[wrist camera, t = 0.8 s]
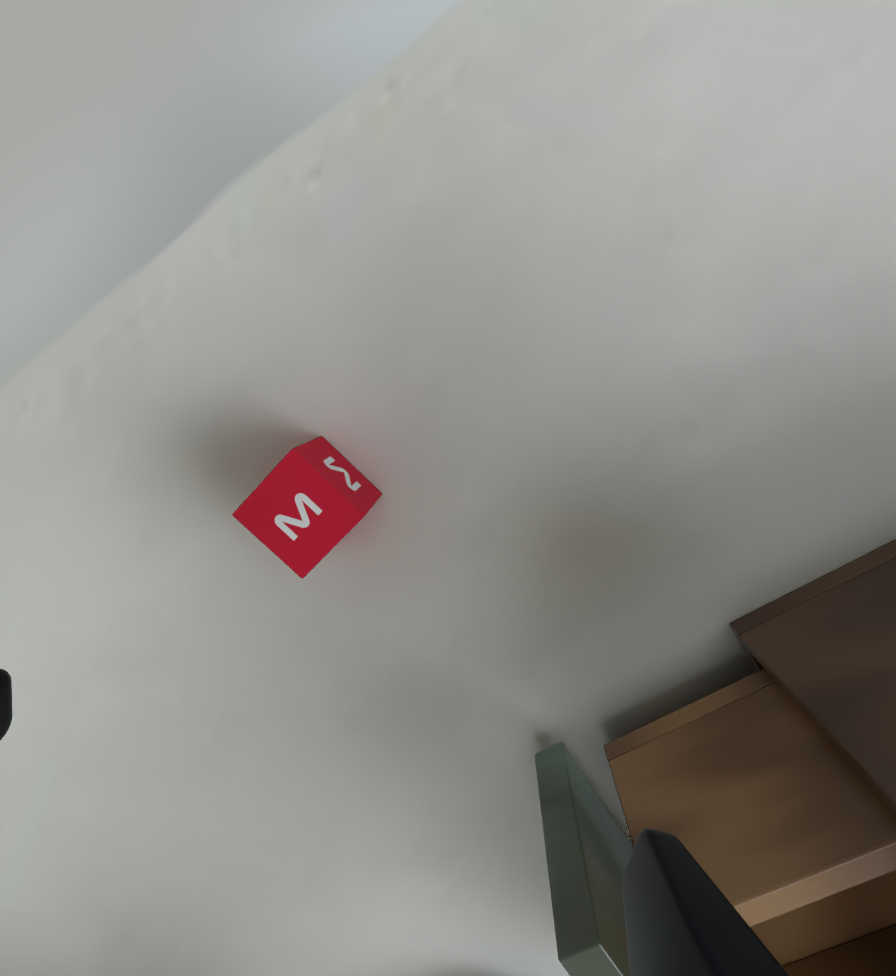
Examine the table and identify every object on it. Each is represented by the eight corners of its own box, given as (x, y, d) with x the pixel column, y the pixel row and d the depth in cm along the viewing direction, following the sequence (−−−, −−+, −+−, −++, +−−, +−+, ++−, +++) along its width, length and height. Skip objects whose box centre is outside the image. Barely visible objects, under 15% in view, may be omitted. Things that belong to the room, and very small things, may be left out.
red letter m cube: (321, 435, 19) (292, 448, 16) (382, 493, 20) (364, 516, 17) (269, 492, 20) (231, 514, 17) (328, 547, 20) (302, 579, 17)
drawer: (673, 1002, 23) (756, 1291, 16) (506, 766, 21) (516, 977, 14) (1032, 869, 20) (1329, 1146, 13) (882, 583, 18) (1137, 726, 11)
